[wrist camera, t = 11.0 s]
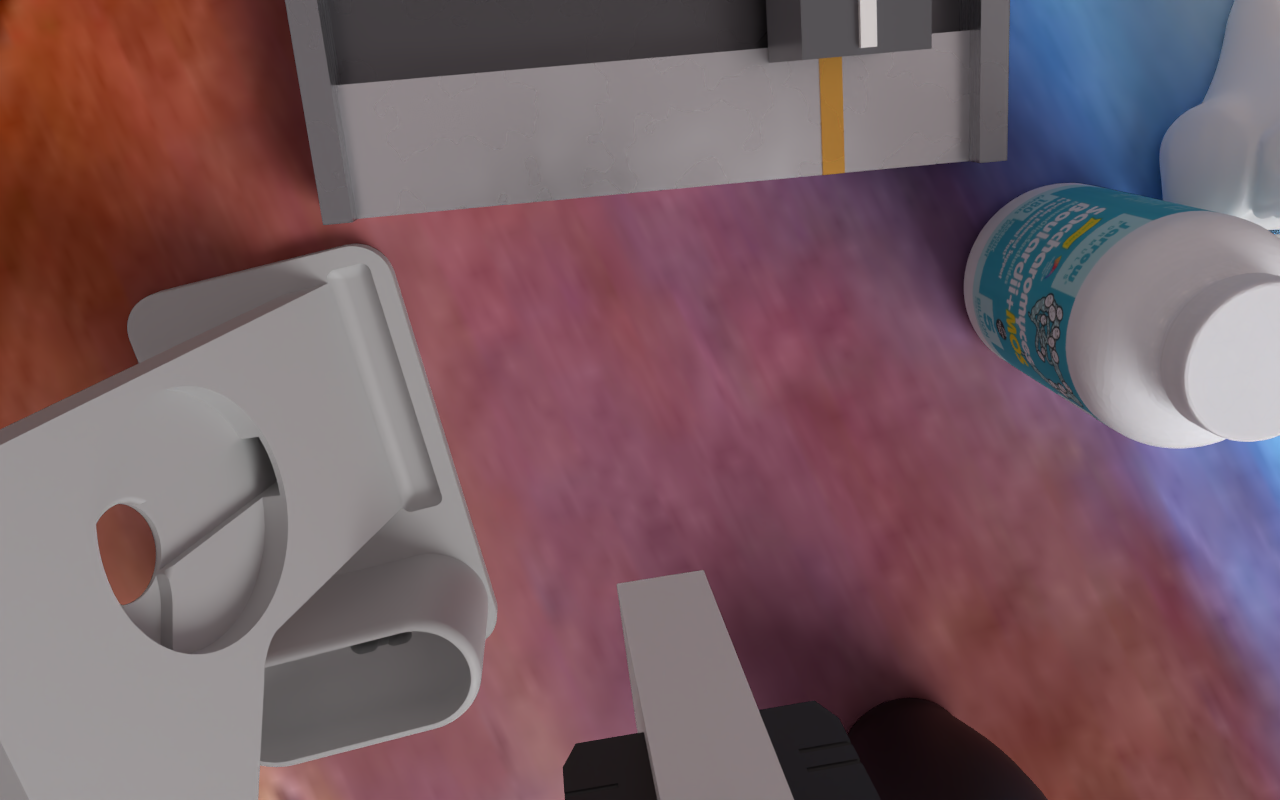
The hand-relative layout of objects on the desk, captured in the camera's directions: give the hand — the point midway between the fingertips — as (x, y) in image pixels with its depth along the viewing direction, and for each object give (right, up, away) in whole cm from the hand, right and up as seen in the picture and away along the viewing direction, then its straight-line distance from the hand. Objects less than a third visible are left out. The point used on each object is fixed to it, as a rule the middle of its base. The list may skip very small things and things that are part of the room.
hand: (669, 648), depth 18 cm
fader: (+6, +18, +19) cm, 27 cm away
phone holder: (-13, +1, +24) cm, 27 cm away
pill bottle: (+16, +9, +24) cm, 30 cm away
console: (0, +18, +20) cm, 27 cm away
